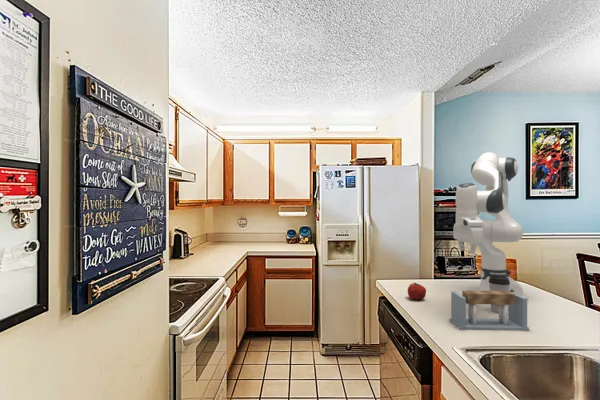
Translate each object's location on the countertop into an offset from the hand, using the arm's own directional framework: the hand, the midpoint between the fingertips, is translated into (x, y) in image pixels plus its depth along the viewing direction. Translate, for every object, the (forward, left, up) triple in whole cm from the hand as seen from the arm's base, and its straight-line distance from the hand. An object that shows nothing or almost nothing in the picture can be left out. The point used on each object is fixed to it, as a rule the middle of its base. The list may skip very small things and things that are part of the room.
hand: (466, 252), depth 153 cm
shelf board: (-2, +14, -18) cm, 23 cm away
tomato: (+15, -22, -27) cm, 38 cm away
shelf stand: (-2, +14, -27) cm, 30 cm away
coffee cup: (-16, -4, -27) cm, 31 cm away
